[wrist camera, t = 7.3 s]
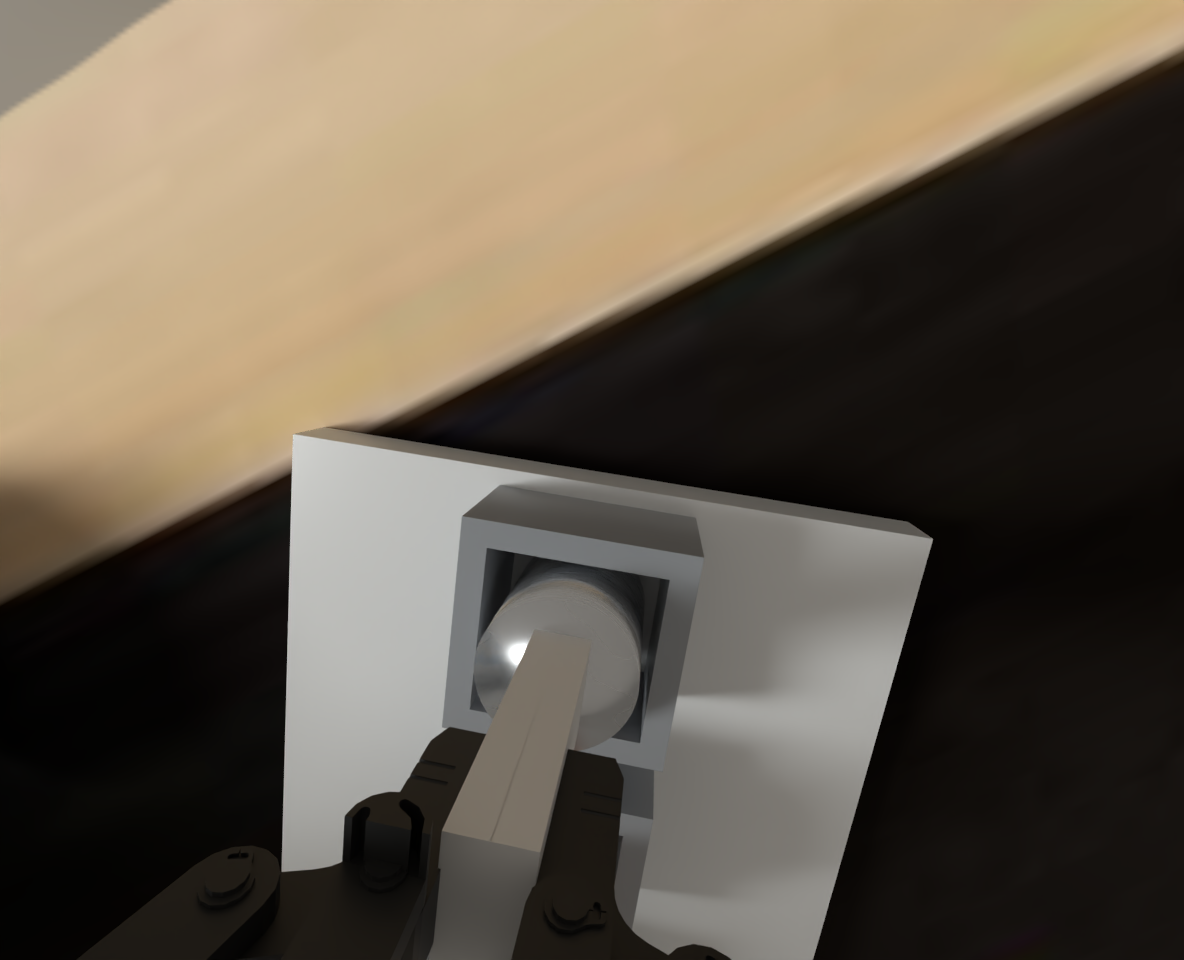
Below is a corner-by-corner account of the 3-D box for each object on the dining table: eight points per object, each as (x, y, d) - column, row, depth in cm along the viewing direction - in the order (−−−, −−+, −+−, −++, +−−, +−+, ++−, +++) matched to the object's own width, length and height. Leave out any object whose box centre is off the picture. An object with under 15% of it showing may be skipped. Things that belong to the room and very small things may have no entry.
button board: (304, 937, 28) (213, 1088, 23) (324, 427, 23) (209, 452, 17) (764, 1046, 27) (793, 1240, 21) (908, 521, 21) (1002, 586, 15)
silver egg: (511, 646, 21) (465, 734, 16) (525, 529, 20) (481, 585, 15) (634, 669, 21) (625, 767, 16) (654, 551, 20) (652, 616, 15)
